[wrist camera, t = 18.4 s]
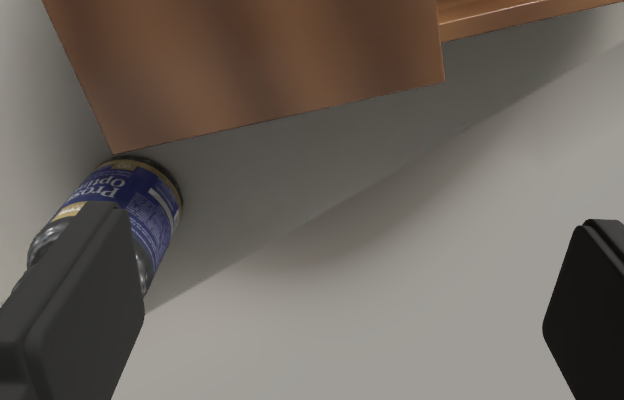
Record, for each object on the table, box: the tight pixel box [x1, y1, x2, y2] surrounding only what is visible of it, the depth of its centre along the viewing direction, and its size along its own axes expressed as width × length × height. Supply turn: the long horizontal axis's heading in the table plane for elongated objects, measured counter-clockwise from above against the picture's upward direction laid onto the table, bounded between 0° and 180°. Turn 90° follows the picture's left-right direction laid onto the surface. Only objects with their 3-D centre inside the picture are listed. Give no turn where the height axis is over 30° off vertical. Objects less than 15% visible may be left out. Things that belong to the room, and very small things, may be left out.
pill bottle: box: [11, 156, 183, 298], centre depth 28 cm, size 6×6×11 cm
